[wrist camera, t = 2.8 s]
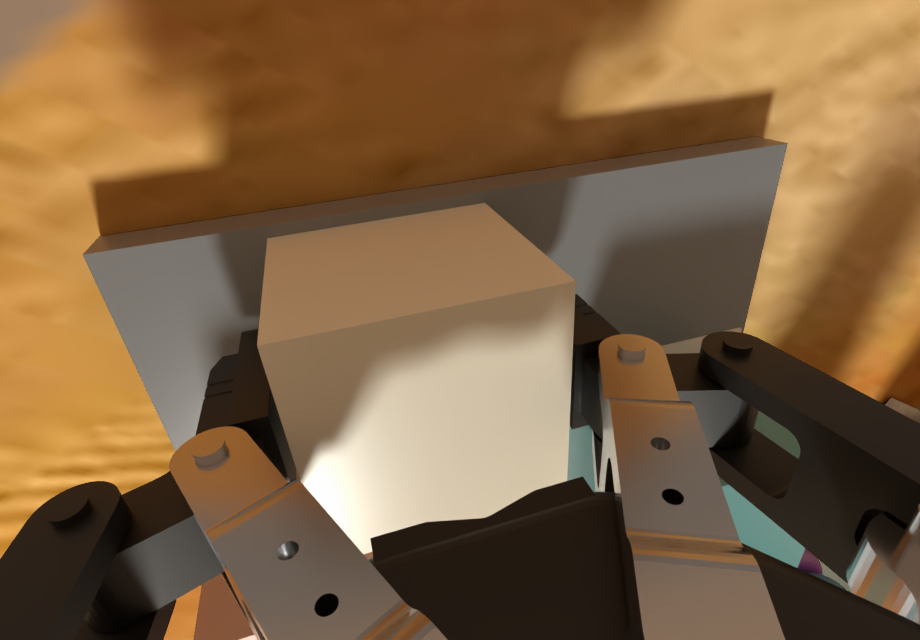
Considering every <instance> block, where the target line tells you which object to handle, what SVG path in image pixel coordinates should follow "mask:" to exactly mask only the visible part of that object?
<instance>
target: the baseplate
mask: <svg viewBox="0 0 920 640" xmlns="http://www.w3.org/2000/svg"><path fill="white" fill-rule="evenodd" d="M787 144H788V143H783V142H779V141H774V140H770V139H765V138H761V137H750V138H743V139H736V140H730V141H723V142H717V143H710V144H704V145H697V146H690V147H684V148H677V149H671V150H664V151H658V152H651V153H644V154H638V155H631V156H625V157H618V158H612V159H605V160H598V161H592V162H585V163H579V164H572V165H566V166H559V167H552V168H546V169H539V170H533V171H526V172H520V173H513V174H506V175H500V176H493V177H487V178H480V179H474V180H467V181H460V182H454V183H447V184H441V185H434V186H428V187H421V188H414V189H408V190H401V191H395V192H388V193H382V194H375V195H368V196H362V197H355V198H349V199H342V200H336V201H329V202H322V203H316V204H309V205H303V206H296V207H290V208H283V209H276V210H270V211H263V212H257V213H250V214H244V215H237V216H230V217H224V218H217V219H211V220H204V221H198V222H191V223H184V224H178V225H171V226H165V227H158V228H152V229H145V230H138V231H132V232H125V233H119V234H112V235H106V236H99V238H98V239H97V240H96V241H95V242H94V243H93V244H92V245H91V246H90V247H89V248H88V250H87V251H86V252H85V253H84V254H83V256H84V258H85V260H86V263H87V265H88V267H89V269H90V271H91V273H92V275H93V277H94V280H95V282H96V284H97V286H98V288H99V290H100V292H101V294H102V297H103V299H104V301H105V303H106V305H107V307H108V309H109V311H110V313H111V316H112V318H113V320H114V322H115V324H116V326H117V328H118V330H119V333H120V335H121V337H122V339H123V341H124V343H125V345H126V347H127V350H128V352H129V354H130V356H131V358H132V360H133V362H134V364H135V367H136V369H137V371H138V373H139V375H140V377H141V379H142V381H143V384H144V386H145V388H146V390H147V392H148V394H149V396H150V398H151V400H152V403H153V405H154V407H155V409H156V411H157V413H158V415H159V417H160V420H161V422H162V424H163V426H164V428H165V430H166V432H167V434H168V437H169V439H170V441H171V443H172V445H173V447H174V449H175V451H176V450H177V449H178V448H179V447H180V446H181V445H182V444H184V443H185V442H186V441H187V440H189V439H190V438H192V437H194V436H195V435H196V431H197V426H198V422H199V418H200V413H201V409H202V404H203V400H204V399H205V397H204V395H205V391H206V388H207V382H208V378H209V373H210V370H211V369H212V368H213V367H214V366H215V364H216V363H217V362H218V361H219V360H220V359H221V357H223V356H228V355H232V354H237V353H238V350H239V344H240V337H241V333H242V332H244V331H249V330H254V329H259V320H260V309H261V299H262V288H263V278H264V268H265V257H266V247H267V238H272V237H278V236H284V235H290V234H296V233H302V232H309V231H315V230H321V229H327V228H333V227H339V226H345V225H352V224H358V223H364V222H370V221H376V220H382V219H388V218H395V217H401V216H407V215H413V214H419V213H425V212H431V211H438V210H444V209H450V208H456V207H462V206H468V205H474V204H481V203H486V204H487V205H488V206H489V207H490V208H492V209H493V210H494V211H495V212H496V213H497V214H499V215H500V216H501V217H502V218H503V219H504V220H506V221H507V222H508V223H509V224H510V225H511V226H512V227H514V228H515V229H516V230H517V231H518V232H519V233H521V234H522V235H523V236H524V237H525V238H526V239H528V240H529V241H530V242H531V243H532V244H533V245H535V246H536V247H537V248H538V249H539V250H540V251H542V252H543V253H544V254H545V255H546V256H547V257H548V258H550V259H551V260H552V261H553V262H554V263H555V264H557V265H558V266H559V267H560V268H561V269H562V270H564V271H565V272H566V273H567V274H568V275H569V276H571V277H572V278H573V279H574V280H575V281H576V289H575V294H577V295H579V296H580V297H581V298H582V299H583V300H584V301H585V302H586V303H587V304H588V306H589V305H590V306H591V307H592V308H593V309H594V310H595V311H596V313H599V314H600V315H601V316H602V317H603V318H604V319H605V320H606V321H607V322H609V323H610V324H611V325H612V326H613V327H614V328H615V329H616V330H617V331H619V332H620V333H621V334H634V335H640V336H644V337H647V338H650V339H652V340H654V341H656V342H657V343H659V344H660V345H661V346H662V347H663V349H664V351H665V354H681V353H700V349H701V343H702V340H703V339H704V337H706V336H707V335H709V334H711V333H715V332H721V331H732V332H740V333H743V330H744V326H745V322H746V318H747V313H748V309H749V305H750V301H751V296H752V292H753V288H754V284H755V279H756V275H757V271H758V267H759V263H760V258H761V254H762V250H763V246H764V241H765V237H766V233H767V229H768V224H769V220H770V216H771V212H772V207H773V203H774V199H775V195H776V190H777V186H778V182H779V178H780V173H781V169H782V165H783V161H784V156H785V152H786V148H787Z"/></svg>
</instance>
